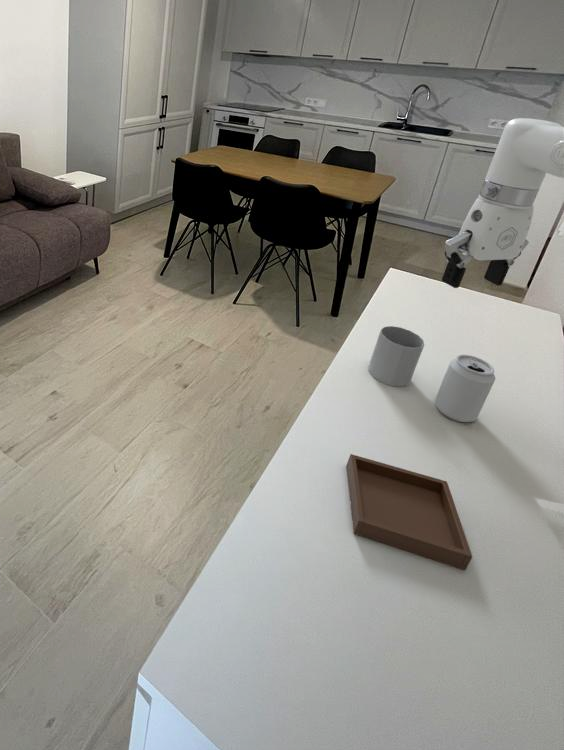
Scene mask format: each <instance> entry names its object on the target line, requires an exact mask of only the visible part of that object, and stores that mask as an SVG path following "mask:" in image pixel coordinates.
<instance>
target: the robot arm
mask: <svg viewBox="0 0 564 750" xmlns="http://www.w3.org/2000/svg"><path fill="white" fill-rule="evenodd" d="M547 174H549V175H551V176H553V177H557V178H561V179H564V126H562V125H561V124H559V123H557V122H554V121H551V120H550V121H549V120H545V119H538V118H537V119H536V118H528V117H518V118H513V119H511V120H509V121H508V122H507V123H506V124H505V126H504V128H503V131H502V134H501V136H500V139H499V140H498V143H497V145H496V149H495V152H494V154H493V156H492V160H491V162H490V165H489V167H488V170H487V172H486V175H485V178H484V181H483V183H482V186H481V188H480V191H479V193H478V196H477V198H476V199H475V201H474V203H473V204H472V206H471V208H470V209H469V211H468V213H467V215H466V217H465V219H464V221H463V223H462V226H461V228H460V229H459V233H458V235H455V236H454V237H452V238H450V239H448V240H446V241H445V243H444V250H445V251H444V256H445V258H446V259H445V260H446V262H447V264H446V267H445V270H444V272H443V275H442V277H441V281H442V282H443V283H444V284H446V285H448V286H450V287H452V288H453V289H458V288H459V287H460V286H461V283H462V281H463V278H464V275H465V273H466V270H467V268H466V267H465V266H466V265H468V264H469V263H470V262H471V261H472V260H473V259H474V260H477V261H489V264H488V266H487V269H486V271H485V274H484V275H483V278H484V280H486V281H487V282H490V283H492V284H494V285H496V286H502V285H503V283H504V281H505V278H506V276H507V274H508V271H509V270H510V267H511V266H513V265H514V264H515V260H516V259H517V258H519V257H520V256H521V255H522V252H523V251H524V250H525V248H526V247H527V246H528V245H529V240H528V239H527V236H528V233H529V231H530V227H531V224H532V221H533V216H534V210H535V205H534V203H535V200H536V198H537V196H538V194H539V191H540V190H541V186H542V184H543V181H544V179H545V178H546V175H547ZM461 255H464V256H463V257H462V258H461V257H460V256H461Z"/></svg>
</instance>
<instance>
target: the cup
mask: <svg viewBox="0 0 564 750" xmlns="http://www.w3.org/2000/svg"><path fill="white" fill-rule="evenodd" d="M424 347H425V341H424V339H423V338H422V337H421V336H420V335H418V334H417V333H415V332H413V331H411V330H409V329H406V328H404V327H399V326H393V325H391V326H390V325H388V326H383V327H382V328H381V329H380V331H379V334H378V337H377V340H376V343H375V345H374V349H373V350H372V355H371V358H370V360H369V364H368V367H367V368H368V372H369V374H370V375H371V377H373V378H374V379H375V380H377V381H379V382H380V383H382V384H385V385H387V386H391V387H396V388H403V387H407V386H409V384H410V383H411V381H412V378H413V375H414V373H415V370H416V368H417V366H418V362H419V360H420V357H421V355H422V352H423V349H424Z"/></svg>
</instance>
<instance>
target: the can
mask: <svg viewBox="0 0 564 750" xmlns="http://www.w3.org/2000/svg"><path fill="white" fill-rule="evenodd" d="M494 373H495V369H494V367H493V366H492V365H491V363H489V362H487V361H485V360H484V359H482V358H480V357H477V356H474V355H470V354H458V355H457V356H456V358H453V359H451V360H450V362H449V364H448V367H447V369H446V371H445V374H444V377H443V379H442V380H441V383H440V386H439V389H438V391H437V393H436V396H435V398H434V405H435V406H436V408H437V409H438V410H439V412H440V413H441V414H442V415H444V416H445V417H446V418H449V419H450V420H453V421H456V422H459V423H470V422H475V421H477V420H478V418H479V415H480V413H481V411H482V409H483V407H484V405H485V403H486V400H487V398H488V396H489V394H490V392H491V390H492V387H493V386H494V383H495V381H496V376H495V374H494Z"/></svg>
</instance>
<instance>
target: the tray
mask: <svg viewBox="0 0 564 750" xmlns="http://www.w3.org/2000/svg"><path fill="white" fill-rule="evenodd" d="M345 469H346V475H347V485H348V494H350V495H349V502H350V501H351V504H350V510H351V511H352V513H351V521H353V522H352V530H354V531H353V534H354V533H355V534H354V535H357V534H358V535H357V536H360V535H361V536H360V537H363V538H366V537H367V539H369V540H372V541H375V542H378V543H381V544H384V545H387V546H390V547H394V548H396V549H399V550H402V551H405V552H408V553H412V554H415V555H418V556H422V557H423V558H427V559H430V560H433V561H437V562H440V563H442V564H445V565H448V566H451V567H454V568H457V569H461V570H464V571H466V570H467V568H468V566H469V565H470V562H471V561H472V559H473V554H472V551H471V549H470V546H469V543H468V540H467V536H466V534H465V531H464V527H463V525H462V522H461V519H460V515H459V512H458V510H457V506H456V504H455V501H454V497H453V495H452V493H451V490H450V486H449V484H448V481H447V480H443V479H440V478H436V477H433V476H429V475H426V474H422V473H419V472H416V471H412V470H408V469H405V468H401V467H398V466H394V465H391V464H388V463H385V462H381V461H376V460H373V459H370V458H365V457H363V456H359V455H355V454H352V453H350V454H349V456H348V460H347V462H346V468H345ZM351 511H350V512H351Z"/></svg>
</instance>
